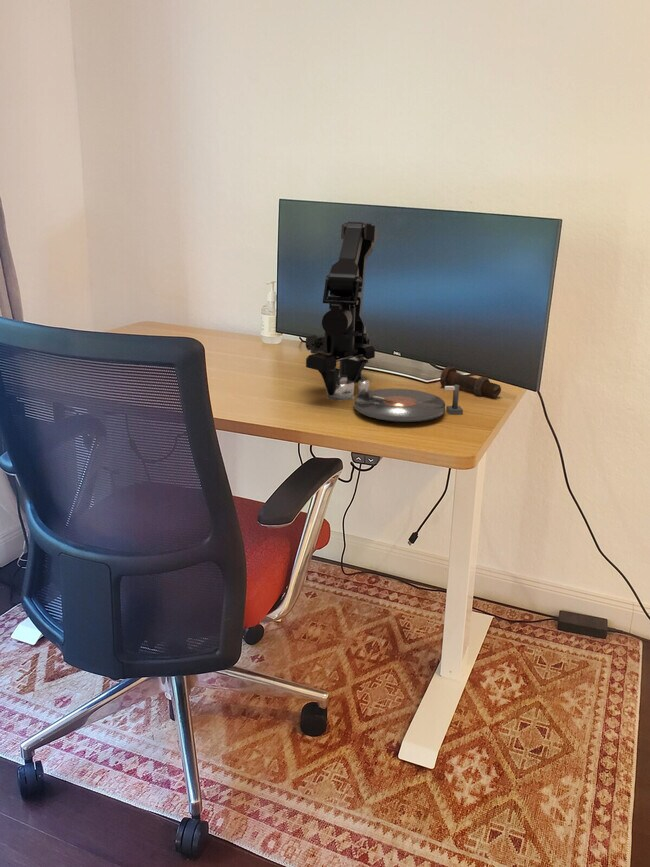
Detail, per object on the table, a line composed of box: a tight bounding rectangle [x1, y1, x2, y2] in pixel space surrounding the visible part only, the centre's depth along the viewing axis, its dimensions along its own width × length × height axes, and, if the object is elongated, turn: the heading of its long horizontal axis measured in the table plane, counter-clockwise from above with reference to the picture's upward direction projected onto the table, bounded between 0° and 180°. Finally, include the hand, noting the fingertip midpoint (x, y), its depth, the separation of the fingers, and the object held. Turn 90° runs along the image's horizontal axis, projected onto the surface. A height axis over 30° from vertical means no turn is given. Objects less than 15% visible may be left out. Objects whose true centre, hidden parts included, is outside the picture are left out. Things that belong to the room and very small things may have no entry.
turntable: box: [353, 379, 446, 423], centre depth 166 cm, size 20×20×4 cm
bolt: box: [439, 365, 502, 398], centre depth 182 cm, size 6×5×15 cm
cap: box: [326, 375, 355, 402], centre depth 176 cm, size 6×6×5 cm
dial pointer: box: [443, 385, 464, 415], centre depth 167 cm, size 3×4×6 cm
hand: (340, 392), depth 177 cm, fingers open, 7 cm apart
